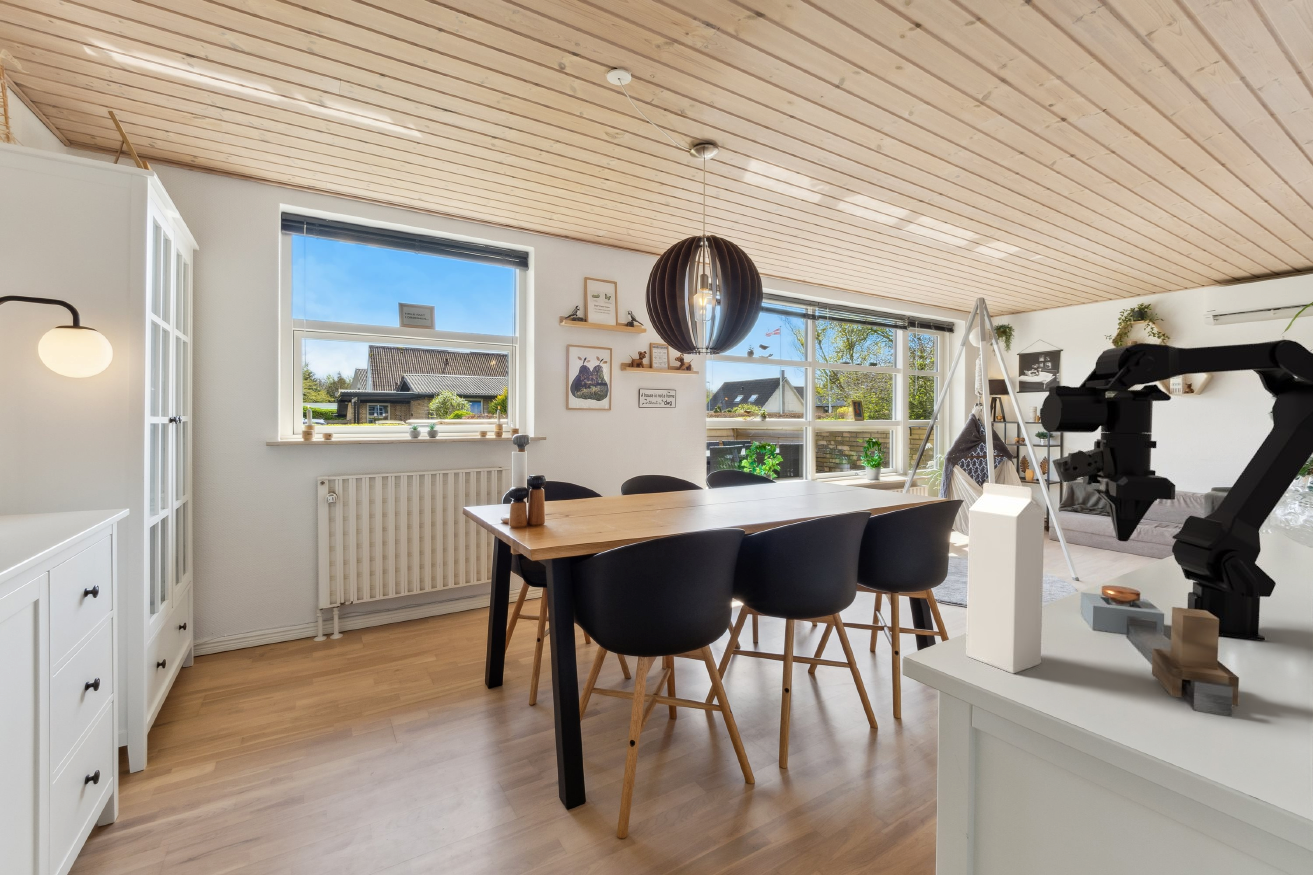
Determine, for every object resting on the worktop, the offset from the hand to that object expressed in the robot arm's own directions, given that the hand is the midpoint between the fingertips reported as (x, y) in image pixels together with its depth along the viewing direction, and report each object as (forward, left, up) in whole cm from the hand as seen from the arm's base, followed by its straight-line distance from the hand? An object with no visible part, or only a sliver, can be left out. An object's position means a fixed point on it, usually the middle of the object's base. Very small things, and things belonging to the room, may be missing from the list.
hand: (1122, 540), depth 85 cm
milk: (+17, +21, -13) cm, 30 cm away
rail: (-1, +16, -12) cm, 20 cm away
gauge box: (0, 0, -12) cm, 12 cm away
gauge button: (0, 0, -12) cm, 12 cm away
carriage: (-1, +22, -12) cm, 25 cm away
